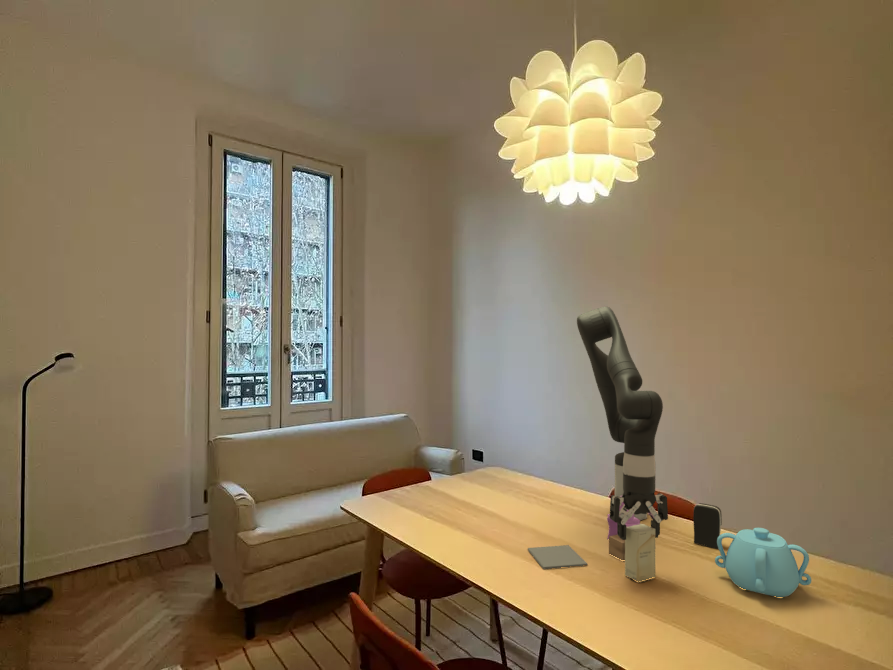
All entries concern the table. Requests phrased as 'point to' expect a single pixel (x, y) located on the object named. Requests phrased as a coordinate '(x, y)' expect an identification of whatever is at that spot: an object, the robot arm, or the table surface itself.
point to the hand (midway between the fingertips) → (638, 537)
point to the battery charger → (707, 524)
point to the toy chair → (613, 524)
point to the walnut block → (617, 547)
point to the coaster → (556, 556)
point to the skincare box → (640, 552)
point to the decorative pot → (762, 562)
